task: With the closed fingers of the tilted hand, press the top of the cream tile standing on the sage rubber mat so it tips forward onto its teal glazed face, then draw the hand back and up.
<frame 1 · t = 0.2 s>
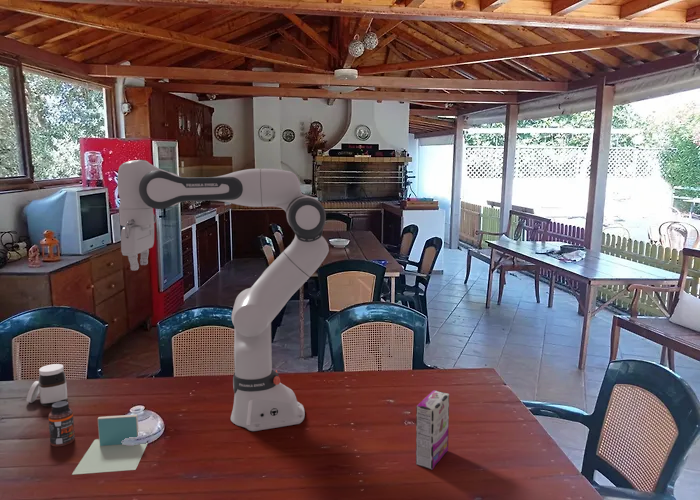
hand: (139, 267, 146), 47 cm above the table, tool pointing down, fingers open, 8 cm apart
supplement bottle: (63, 443, 143), on the table
mat: (114, 455, 136), on the table
candy bar box: (431, 458, 136), on the table
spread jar: (47, 402, 168), on the table
tile: (119, 444, 141), resting on mat
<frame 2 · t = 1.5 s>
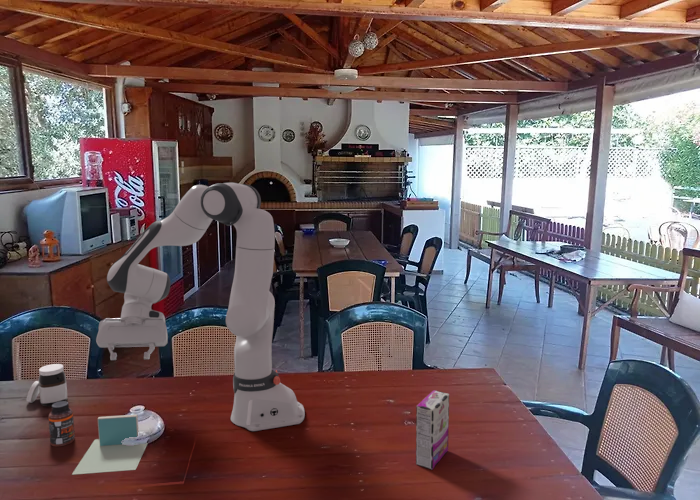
hand: (129, 359, 155), 19 cm above the table, tool tilted 45°, fingers open, 8 cm apart
nothing on the table moved.
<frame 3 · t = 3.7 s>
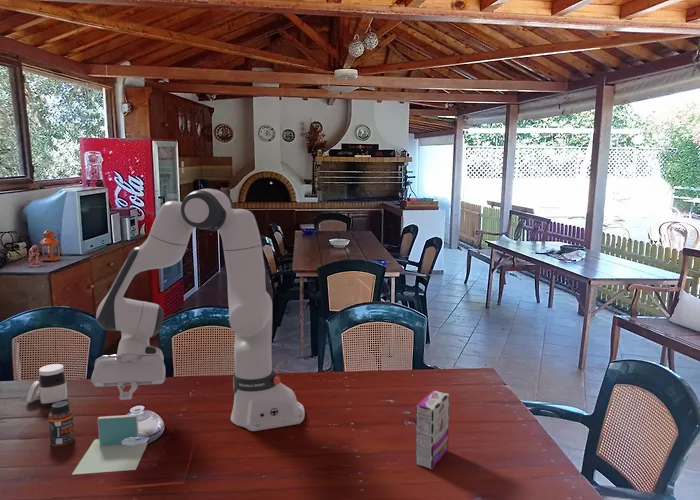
hand: (125, 398, 148), 10 cm above the table, tool tilted 45°, fingers closed
nothing on the table moved.
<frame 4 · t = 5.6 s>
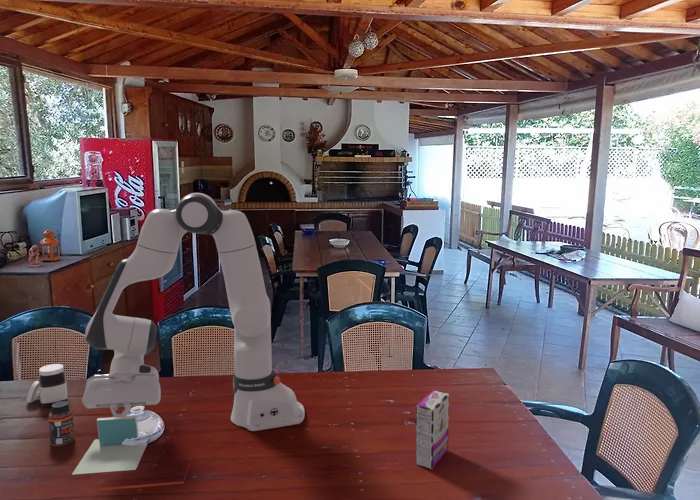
hand: (118, 421, 140), 7 cm above the table, tool tilted 45°, fingers closed, pressing on tile
tile: (119, 443, 141), point 1 cm above the table, tilted 6°, touching gripper, mat
everything else where it was.
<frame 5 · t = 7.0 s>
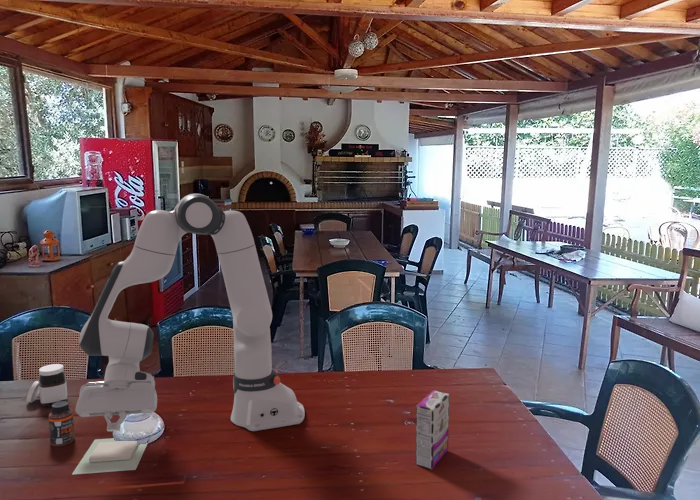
hand: (113, 430, 135), 7 cm above the table, tool tilted 45°, fingers closed
tile: (118, 443, 140), point 1 cm above the table, tilted 90°, touching mat
everything else where it was.
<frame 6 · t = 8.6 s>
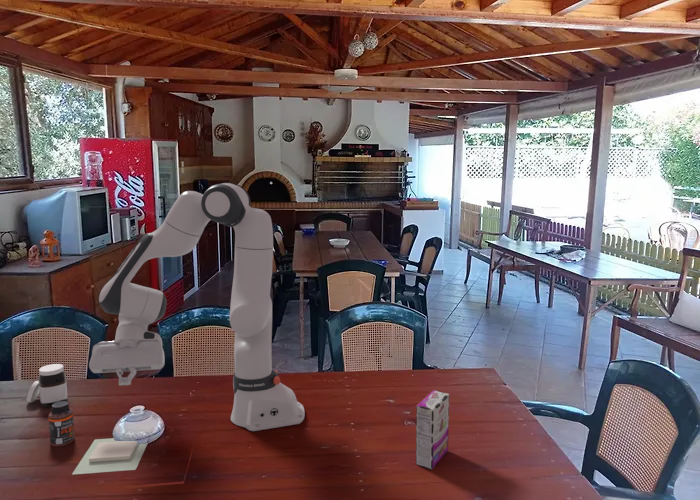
hand: (124, 384, 146), 15 cm above the table, tool tilted 45°, fingers closed
nothing on the table moved.
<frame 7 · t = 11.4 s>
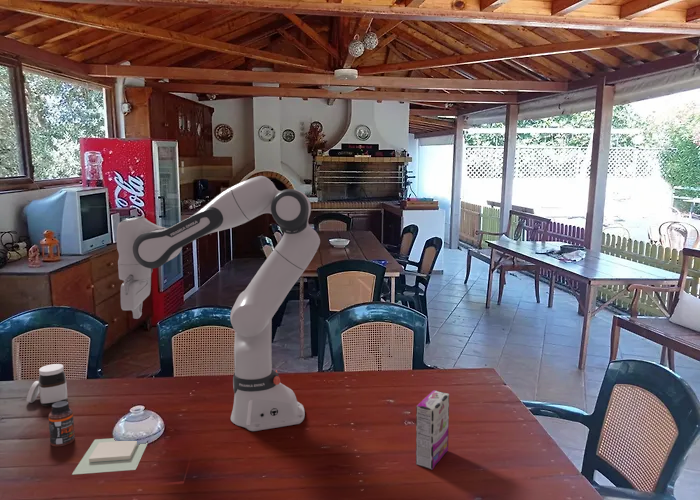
hand: (137, 317, 154), 31 cm above the table, tool pointing down, fingers closed
nothing on the table moved.
at the end: tile tilted 90°; tile inside the target area on the mat (2.7 cm from its centre), point 1.2 cm above the mat's base; supplement bottle moved 0.2 cm from its start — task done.
